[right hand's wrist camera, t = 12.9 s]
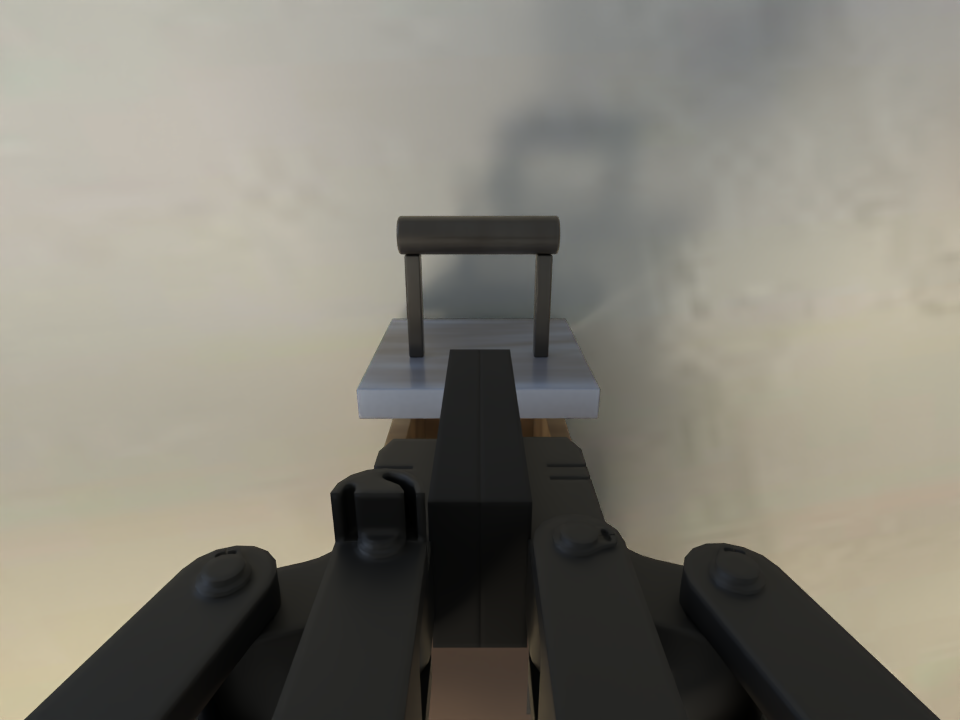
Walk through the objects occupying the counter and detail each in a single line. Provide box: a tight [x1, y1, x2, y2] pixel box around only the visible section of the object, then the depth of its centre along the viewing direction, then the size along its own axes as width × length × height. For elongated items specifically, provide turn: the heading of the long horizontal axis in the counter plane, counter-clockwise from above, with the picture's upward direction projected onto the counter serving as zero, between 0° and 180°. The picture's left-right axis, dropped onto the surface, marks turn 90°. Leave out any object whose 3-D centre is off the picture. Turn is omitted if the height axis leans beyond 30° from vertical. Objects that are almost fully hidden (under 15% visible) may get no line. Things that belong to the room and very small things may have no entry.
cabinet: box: [429, 636, 532, 720], centre depth 31 cm, size 20×10×11 cm, turn 0°
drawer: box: [357, 216, 600, 447], centre depth 27 cm, size 24×9×9 cm, turn 0°
